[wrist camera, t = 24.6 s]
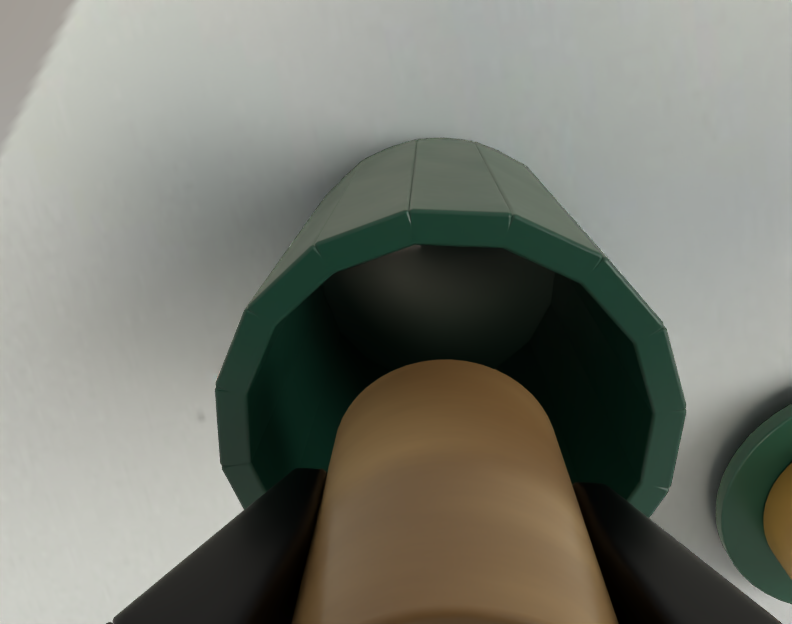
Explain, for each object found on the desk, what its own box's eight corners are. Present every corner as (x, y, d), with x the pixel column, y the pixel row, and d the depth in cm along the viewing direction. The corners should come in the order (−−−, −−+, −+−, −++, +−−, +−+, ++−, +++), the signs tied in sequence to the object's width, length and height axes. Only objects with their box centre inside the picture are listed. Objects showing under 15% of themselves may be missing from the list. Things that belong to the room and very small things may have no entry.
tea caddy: (587, 142, 17) (727, 221, 9) (554, 394, 19) (642, 629, 11) (304, 132, 17) (199, 200, 9) (309, 383, 19) (229, 606, 12)
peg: (569, 363, 9) (689, 625, 5) (543, 554, 10) (624, 898, 6) (334, 352, 9) (256, 598, 5) (334, 541, 10) (271, 873, 6)
